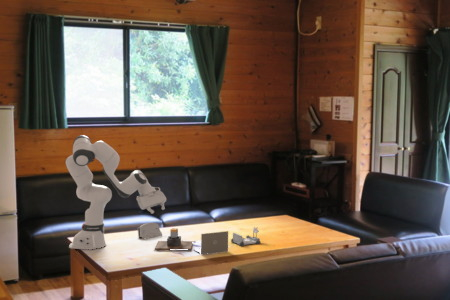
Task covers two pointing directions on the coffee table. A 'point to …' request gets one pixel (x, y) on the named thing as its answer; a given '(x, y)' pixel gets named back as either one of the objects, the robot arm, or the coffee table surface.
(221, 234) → the laptop
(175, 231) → the toggle bar
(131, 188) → the robot arm
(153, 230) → the grey rounded block
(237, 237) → the toy car
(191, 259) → the coffee table surface
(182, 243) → the keeper
